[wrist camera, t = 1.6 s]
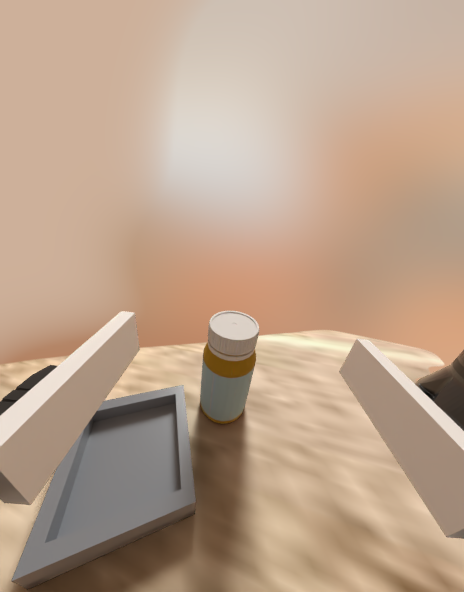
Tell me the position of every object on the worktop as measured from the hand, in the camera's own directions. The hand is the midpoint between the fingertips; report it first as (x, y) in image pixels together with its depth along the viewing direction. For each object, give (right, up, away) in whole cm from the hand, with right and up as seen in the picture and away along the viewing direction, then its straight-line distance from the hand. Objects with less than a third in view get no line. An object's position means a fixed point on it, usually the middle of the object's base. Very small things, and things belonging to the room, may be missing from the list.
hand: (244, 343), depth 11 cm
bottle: (-2, -14, +17) cm, 22 cm away
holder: (-12, -16, +10) cm, 22 cm away
